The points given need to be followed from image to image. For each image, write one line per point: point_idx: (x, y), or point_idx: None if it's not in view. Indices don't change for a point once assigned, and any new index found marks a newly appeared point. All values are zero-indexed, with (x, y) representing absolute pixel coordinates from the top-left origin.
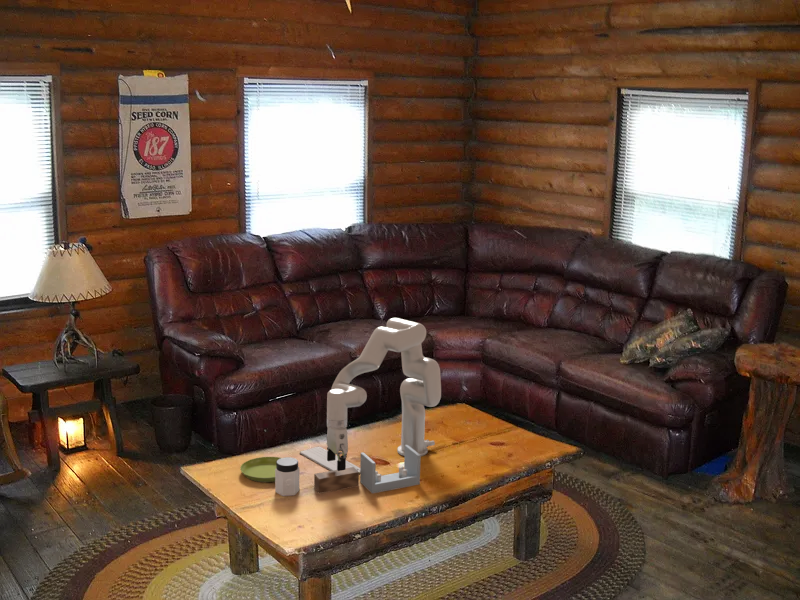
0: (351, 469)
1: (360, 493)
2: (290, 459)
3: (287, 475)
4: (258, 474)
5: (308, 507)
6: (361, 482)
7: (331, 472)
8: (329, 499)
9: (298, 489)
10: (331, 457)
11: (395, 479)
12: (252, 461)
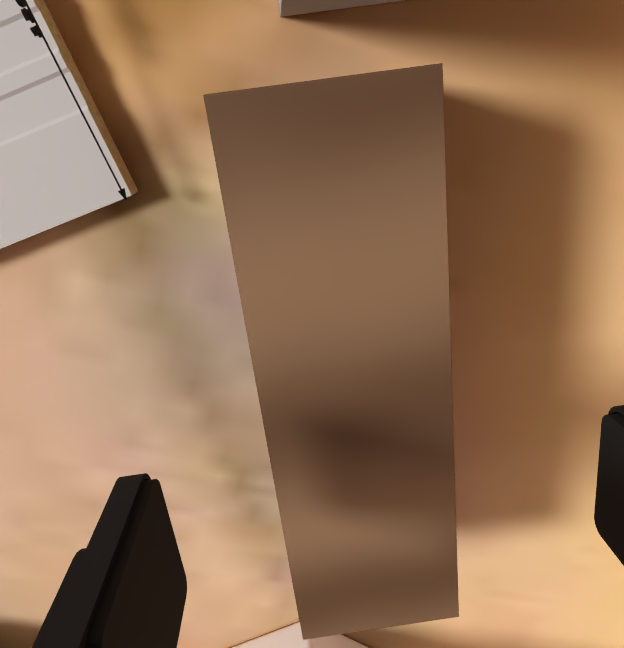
0: (300, 164)
1: (579, 117)
2: None
3: None
4: None
5: (616, 598)
6: (320, 9)
7: (323, 468)
8: (563, 442)
9: (328, 640)
10: (163, 588)
11: None
12: None
